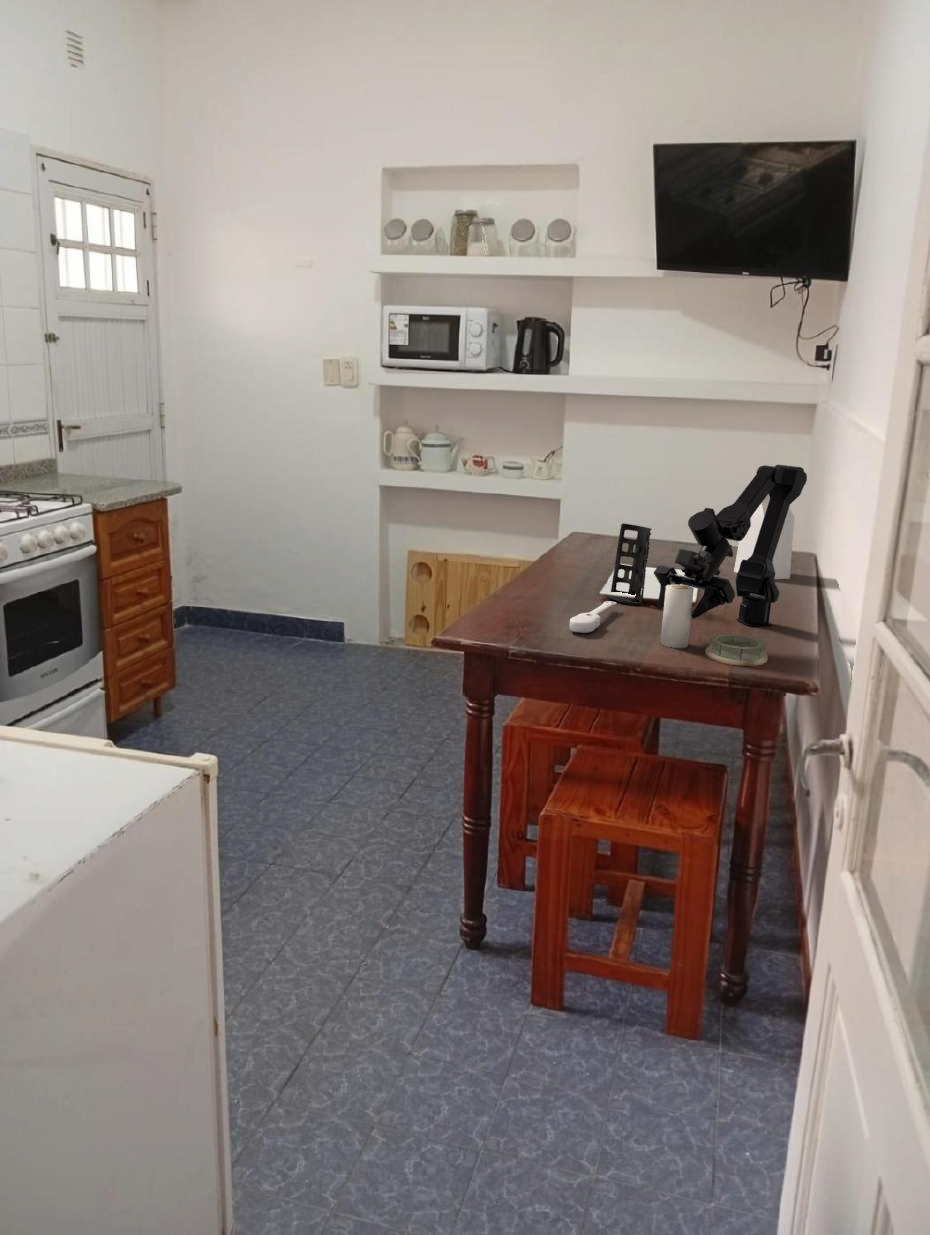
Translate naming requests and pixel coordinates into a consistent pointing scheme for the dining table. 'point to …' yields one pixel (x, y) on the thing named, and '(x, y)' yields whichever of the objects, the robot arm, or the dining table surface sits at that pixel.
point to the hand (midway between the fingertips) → (675, 612)
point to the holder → (638, 563)
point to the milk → (783, 547)
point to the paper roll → (676, 616)
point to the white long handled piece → (589, 619)
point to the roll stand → (737, 650)
